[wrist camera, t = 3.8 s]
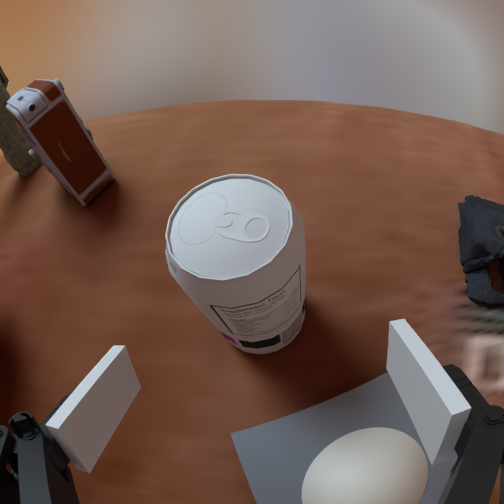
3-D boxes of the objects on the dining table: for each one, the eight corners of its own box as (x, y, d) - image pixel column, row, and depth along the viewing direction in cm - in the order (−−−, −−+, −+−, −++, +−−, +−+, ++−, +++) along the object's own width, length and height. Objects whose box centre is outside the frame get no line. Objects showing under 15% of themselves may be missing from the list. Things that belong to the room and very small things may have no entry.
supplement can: (207, 340, 28) (131, 267, 16) (238, 267, 32) (196, 160, 19) (288, 367, 26) (274, 313, 13) (314, 287, 29) (320, 178, 17)
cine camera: (80, 147, 51) (34, 71, 34) (125, 175, 43) (64, 70, 26) (47, 178, 48) (-6, 105, 32) (82, 217, 40) (6, 119, 23)
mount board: (296, 581, 14) (295, 588, 12) (234, 432, 23) (229, 433, 22) (470, 501, 14) (478, 504, 13) (416, 356, 24) (423, 352, 23)
